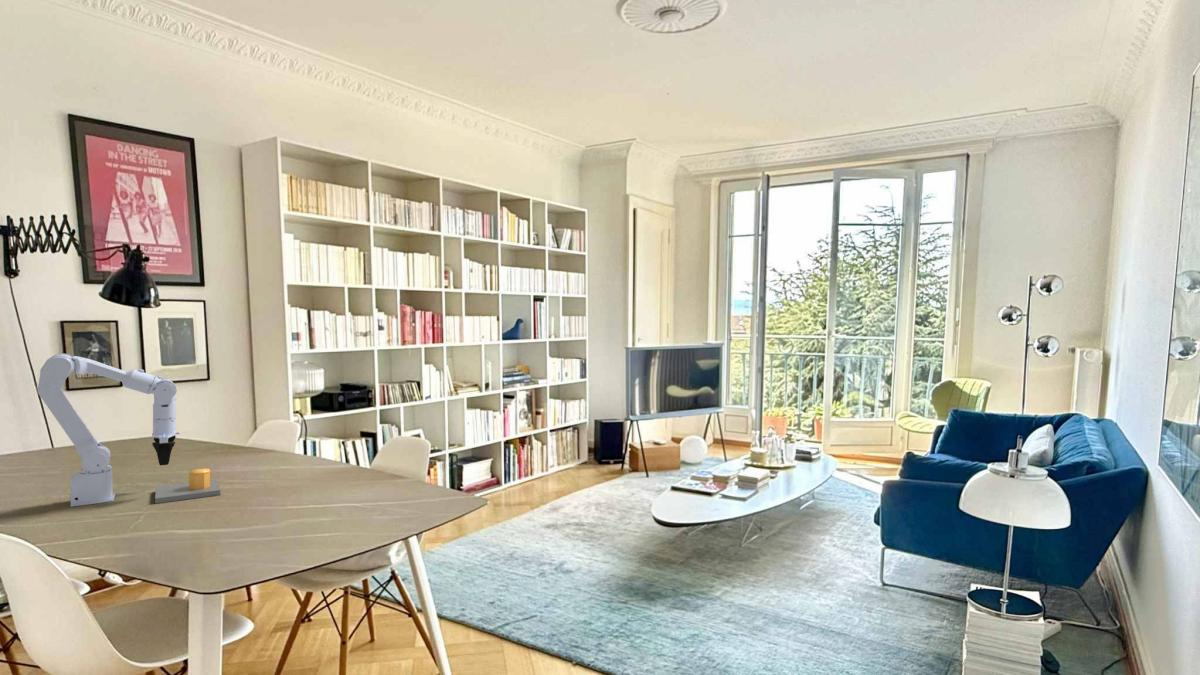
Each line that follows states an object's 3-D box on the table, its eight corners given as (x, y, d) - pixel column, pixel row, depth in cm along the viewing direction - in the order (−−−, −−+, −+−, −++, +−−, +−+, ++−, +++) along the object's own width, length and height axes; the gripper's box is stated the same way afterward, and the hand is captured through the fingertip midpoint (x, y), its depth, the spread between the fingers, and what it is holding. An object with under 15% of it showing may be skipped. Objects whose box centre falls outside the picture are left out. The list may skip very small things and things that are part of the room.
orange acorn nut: (189, 490, 184) (188, 474, 184) (189, 486, 188) (188, 470, 188) (210, 487, 187) (210, 471, 187) (209, 483, 191) (209, 467, 191)
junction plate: (155, 503, 176) (155, 488, 175) (156, 491, 187) (155, 477, 187) (220, 494, 185) (220, 480, 185) (217, 483, 196) (217, 470, 196)
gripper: (180, 421, 183) (180, 465, 184) (180, 414, 195) (180, 456, 196) (151, 422, 179) (151, 468, 180) (153, 415, 191) (153, 458, 192)
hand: (164, 462), depth 188 cm, fingers open, 7 cm apart
